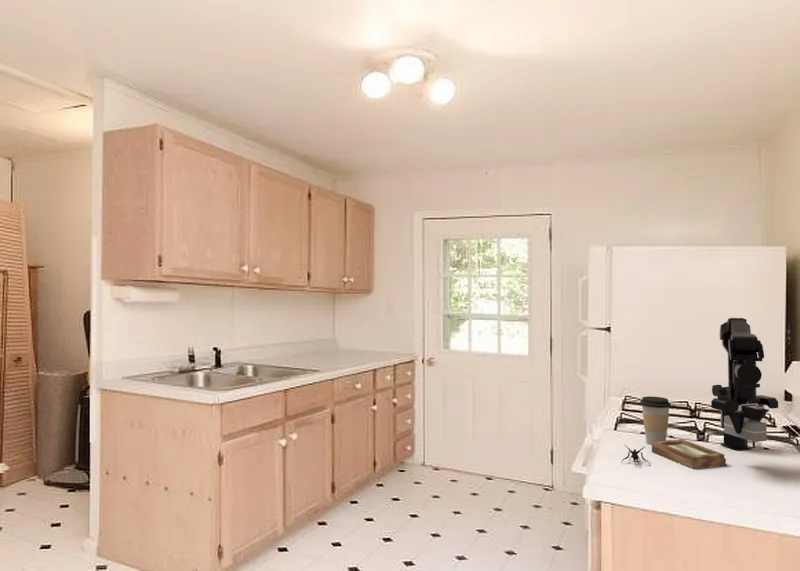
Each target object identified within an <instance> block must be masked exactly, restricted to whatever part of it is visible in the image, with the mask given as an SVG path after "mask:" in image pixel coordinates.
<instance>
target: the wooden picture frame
mask: <svg viewBox="0 0 800 571" xmlns="http://www.w3.org/2000/svg"><path fill="white" fill-rule="evenodd" d="M651 453H653V454H656V455H658V456H661V457H663V458H665V459H667V460H671V461H672V462H674V461H675V462H674V463H677V464H679V463H680V464H679V465H682V466H684V467H687V468H689V469H691V468H692V469H691V470H694V468H696V469H703V468H702V467H705V468H710V466H713V467H720V466H719V465H722V466H727V465H726V463H727V459H726V458H725V453H721V452H719V451H715V450H713V449H710V448H708V447H704V446H703V445H699V444H696V443H693V442H690V441H687V440H685V439H680V438H679V439H669V440H666V441H657V442H653V445H651Z"/></svg>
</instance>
